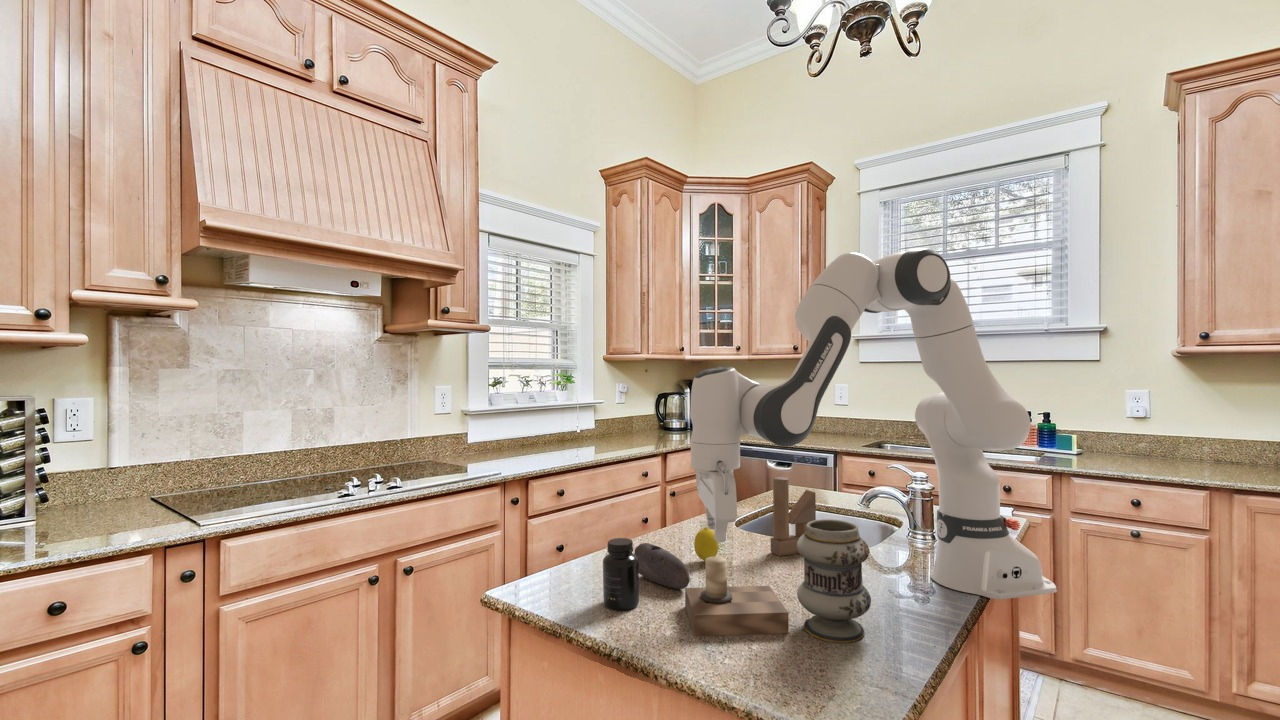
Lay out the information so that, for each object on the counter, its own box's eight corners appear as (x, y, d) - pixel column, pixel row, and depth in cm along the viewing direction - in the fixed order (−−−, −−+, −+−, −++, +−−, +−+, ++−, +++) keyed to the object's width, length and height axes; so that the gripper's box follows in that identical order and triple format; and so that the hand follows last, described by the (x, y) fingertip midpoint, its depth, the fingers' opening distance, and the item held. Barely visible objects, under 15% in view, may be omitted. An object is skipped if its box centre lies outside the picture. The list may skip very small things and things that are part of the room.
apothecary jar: (814, 609, 111) (813, 511, 111) (881, 627, 103) (880, 522, 103) (785, 632, 101) (784, 526, 101) (856, 654, 94) (855, 539, 94)
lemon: (706, 568, 133) (706, 532, 133) (689, 561, 137) (689, 527, 137) (723, 562, 136) (723, 527, 136) (706, 556, 141) (706, 522, 141)
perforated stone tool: (697, 591, 120) (697, 556, 120) (678, 598, 117) (678, 562, 117) (650, 571, 132) (650, 539, 132) (631, 576, 128) (631, 544, 128)
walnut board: (769, 604, 113) (769, 585, 113) (788, 633, 101) (788, 612, 101) (685, 606, 112) (685, 588, 112) (694, 636, 100) (694, 615, 100)
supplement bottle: (615, 594, 118) (615, 534, 118) (645, 601, 115) (645, 539, 115) (595, 607, 112) (595, 543, 112) (626, 614, 109) (626, 548, 109)
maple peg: (728, 608, 110) (728, 554, 110) (735, 621, 105) (734, 564, 105) (698, 609, 110) (698, 555, 110) (703, 622, 105) (703, 565, 105)
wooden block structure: (816, 551, 144) (815, 476, 144) (779, 557, 140) (778, 480, 140) (806, 546, 148) (806, 473, 148) (769, 552, 143) (769, 477, 143)
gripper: (746, 467, 97) (746, 552, 97) (722, 448, 118) (722, 518, 118) (707, 468, 97) (708, 553, 97) (690, 449, 117) (690, 519, 117)
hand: (716, 534), depth 107 cm, fingers open, 6 cm apart
